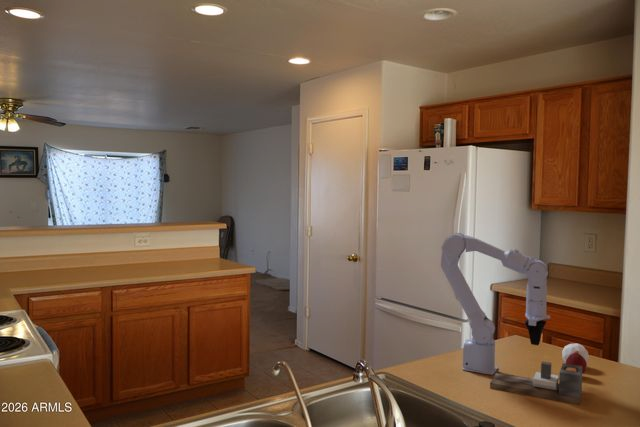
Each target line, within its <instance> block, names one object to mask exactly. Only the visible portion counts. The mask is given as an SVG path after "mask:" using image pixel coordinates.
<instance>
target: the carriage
mask: <svg viewBox="0 0 640 427" xmlns="http://www.w3.org/2000/svg"><path fill="white" fill-rule="evenodd" d="M532 379H533V386H536V387H541V388H547V389H552V390H557V384H558V383H559V375H557V374H552V362H548V361H541V363H540V372H539V371H535V373H534V376H533V377H532Z"/></svg>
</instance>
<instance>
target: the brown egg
mask: <svg viewBox="0 0 640 427" xmlns="http://www.w3.org/2000/svg"><path fill="white" fill-rule="evenodd" d="M566 370H568V371H574V372H576V369H575V368H570V367H568V368H566Z"/></svg>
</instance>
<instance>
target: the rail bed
mask: <svg viewBox="0 0 640 427" xmlns="http://www.w3.org/2000/svg"><path fill="white" fill-rule="evenodd" d="M568 367H570V368H575V369H576V372H574V371H568V370H566V368H568ZM558 376H559V380H558V384H557V390H552V389H547V388H541V387H536V386H533V378H530V377H524V376H518V375H512V374H506V373H501V372H496V373H494V376H493V378H492V380H491V381H490V382H489V388H490V389H494V390H498V391H499V390H500V391H505V392H510V393H515V394H522V395H526V396H531V397H537V398H542V399H548V400H552V401H559V402H565V403H570V404H574V405H580V401H581V397H582V394H583V393H582V391H583V387H582V386H583V373H582V366H577V365H571V364H566V363H565V362H564V363H562V364H561V366H560V370H559V375H558Z"/></svg>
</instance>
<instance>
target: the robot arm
mask: <svg viewBox="0 0 640 427" xmlns="http://www.w3.org/2000/svg"><path fill="white" fill-rule="evenodd" d="M464 252H465V253H471V252H478V253H479V254H483V255H486V256H488V257H491V258H493V259H495V260H498V261H500V262H501V264H502V266H503V267H504V268H507V269H509V270H512V271H514V272H517V273H519V274H521V275H527V283H526V292H525V293H526V295H525V296H526V299H525V313H524V316H525V318H526V319H525V320H524V324H525V326H526V328H527V331H528V336H529V341H530V344H531V345H532V346H539V345H540V342H541V337H542V334H543V331H544V327H545V326H546V324H547V321H546V320H547V319H548V320H549V319H551V315H549V314H547V302H548V300H547V299H548V298H547V296H548V286H547V283H548V281H547V278H548V275H549V270H548V267H547V264H546V263H545V261H542V260H540V259H539V258H535V256H529V255H526V254H523V253H521V252H520V250H518V249H517V248H515V249H514V250H513V249H507V250H503V249H501V248H499V247H497V246H495V245H493V244H490V243H487V242H486V241H484V240H481V239H478V237H474V236H470V235H468V234H467V235H465V234H464V233H461V232H455V233H452V234H451V235H448V236H447V237H446V238H445V239H444V241H443V243H442V245H441V257H440V267H441V269H442V271H443V273H444V275H445V277H446V279H447V281H448V283H449V285H450V287H451V289H452V290H453V292H454V294H455V295H456V298H457V299H458V302H459V304H460V305H461V307H462V309H463V311H464V313H465V315H466V317H467V321H468V324H469V327H470V328H471V336H472V337H471V338H470V339H465V340H464V343H463V348H462V368H461V370H463V371H466V372H467V371H468V372H473V373H474V372H475V373H479V374H485V375H488V376H489V375H491V376H493V375H495V374H496V373H495V372H497V370H498V369H499V367H498V366H497V365H496V364H495V363H496V361H495V360H496V340H495V339H494V338H493V337H494V333H495V331H496V326H495V323H494V322H493V320H492V319H490V318H488V316H487V315H486V313H485V312H484V311H483V310H482V308H481V306H480V305H479V302H478V301H477V299H476V297H475V296H474V293H473V291H472V290H471V288H470V285H469V284H468V282H467V280H466V278H465V276H464V274H463V272H462V271H461V269H460V267H459V265H458V264H459V262H460V261H459V260H460V259H461V256H462V254H463V253H464Z"/></svg>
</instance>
